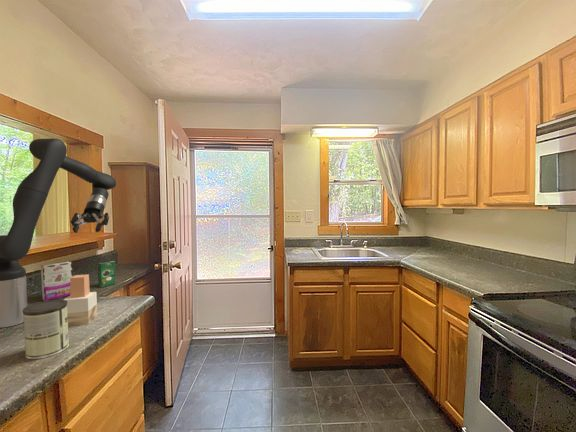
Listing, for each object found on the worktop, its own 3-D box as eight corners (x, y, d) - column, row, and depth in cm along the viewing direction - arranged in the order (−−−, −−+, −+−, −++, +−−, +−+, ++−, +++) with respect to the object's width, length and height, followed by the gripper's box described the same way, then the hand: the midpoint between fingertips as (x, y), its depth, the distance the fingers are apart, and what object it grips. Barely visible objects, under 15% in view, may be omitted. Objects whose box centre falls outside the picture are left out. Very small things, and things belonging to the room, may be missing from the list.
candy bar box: (70, 293, 141) (69, 261, 140) (73, 295, 138) (72, 262, 137) (41, 299, 132) (40, 265, 132) (44, 301, 129) (42, 266, 128)
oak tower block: (88, 324, 105) (88, 311, 104) (63, 326, 103) (63, 313, 102) (97, 316, 112) (97, 303, 112) (74, 318, 110) (74, 305, 110)
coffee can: (21, 351, 85) (19, 306, 84) (64, 339, 93) (62, 297, 92) (28, 364, 78) (25, 314, 78) (73, 349, 86) (71, 304, 86)
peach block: (84, 296, 106) (83, 277, 105) (70, 298, 104) (69, 278, 104) (89, 293, 110) (88, 274, 110) (76, 294, 109) (75, 275, 108)
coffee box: (113, 283, 159) (112, 260, 158) (116, 284, 157) (115, 261, 157) (98, 287, 151) (97, 263, 151) (101, 287, 150) (100, 263, 150)
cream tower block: (88, 311, 104) (87, 298, 104) (63, 313, 102) (62, 300, 102) (96, 304, 112) (96, 291, 112) (73, 306, 110) (73, 293, 110)
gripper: (76, 200, 132) (64, 226, 121) (110, 200, 135) (101, 225, 125) (81, 211, 137) (70, 237, 126) (114, 211, 141) (106, 236, 130)
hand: (86, 231), depth 125 cm, fingers open, 8 cm apart
